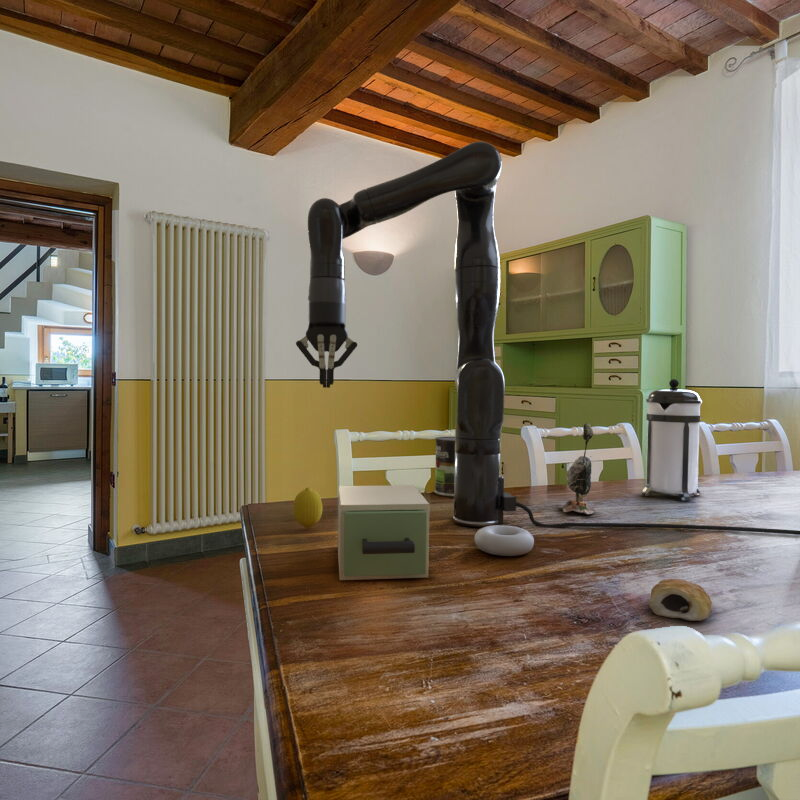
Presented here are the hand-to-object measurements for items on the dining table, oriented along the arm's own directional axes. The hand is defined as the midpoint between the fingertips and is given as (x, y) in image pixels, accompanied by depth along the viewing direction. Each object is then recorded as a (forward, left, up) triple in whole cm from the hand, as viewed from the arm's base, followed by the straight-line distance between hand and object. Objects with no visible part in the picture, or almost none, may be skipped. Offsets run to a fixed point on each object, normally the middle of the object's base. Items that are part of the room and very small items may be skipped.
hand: (326, 387), depth 116 cm
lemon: (+4, +8, -27) cm, 29 cm away
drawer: (-6, +34, -26) cm, 43 cm away
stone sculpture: (-56, +2, -27) cm, 62 cm away
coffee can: (-35, -22, -27) cm, 50 cm away
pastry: (-40, +55, -27) cm, 73 cm away
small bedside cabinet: (-6, +30, -27) cm, 41 cm away
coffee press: (-90, -11, -27) cm, 95 cm away
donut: (-28, +27, -27) cm, 47 cm away
